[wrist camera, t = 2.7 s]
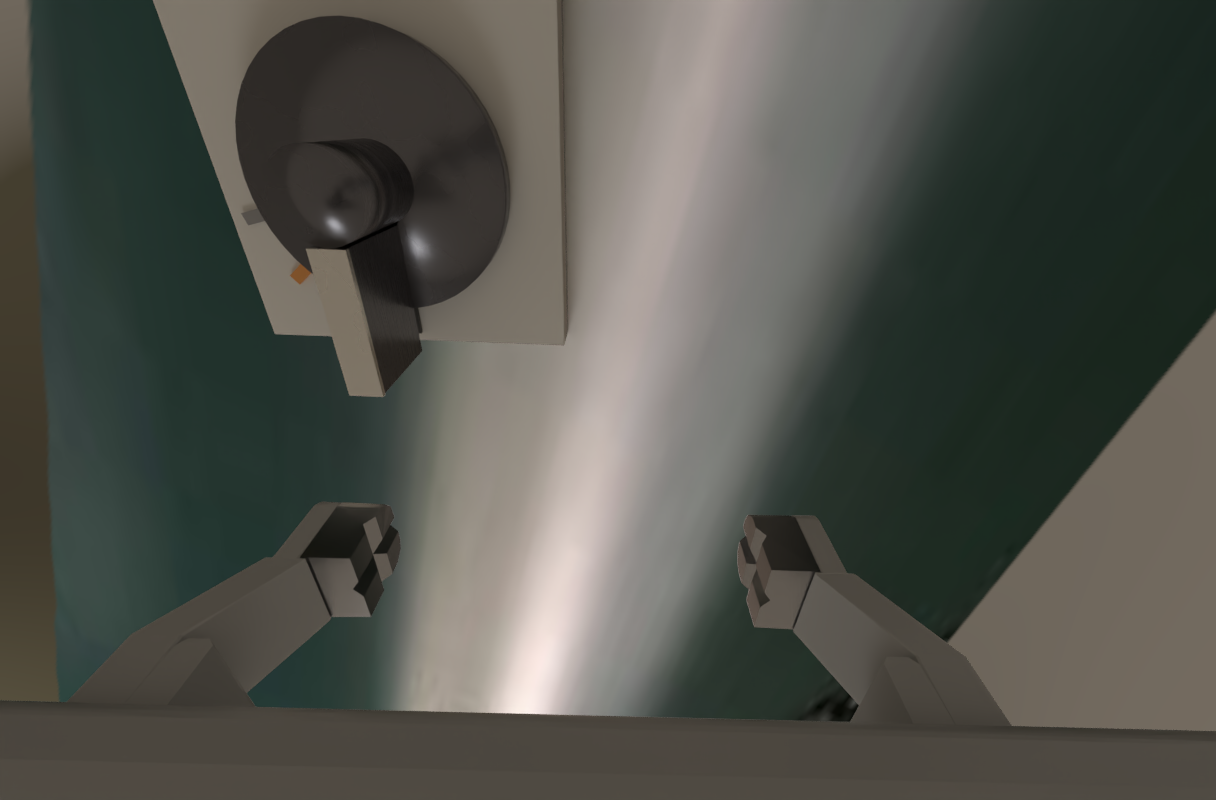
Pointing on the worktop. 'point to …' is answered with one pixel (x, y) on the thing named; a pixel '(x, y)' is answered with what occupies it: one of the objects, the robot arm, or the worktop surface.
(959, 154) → the worktop surface
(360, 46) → the dial
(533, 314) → the dial base
